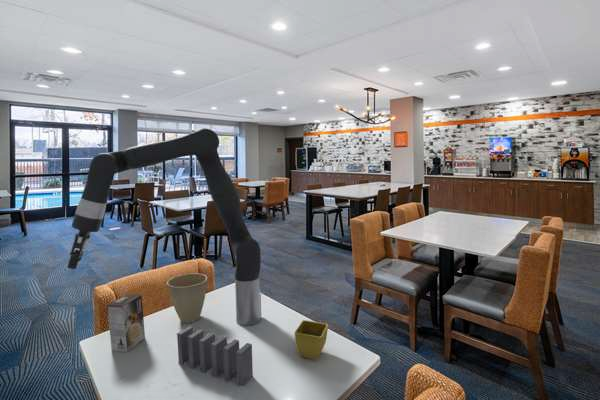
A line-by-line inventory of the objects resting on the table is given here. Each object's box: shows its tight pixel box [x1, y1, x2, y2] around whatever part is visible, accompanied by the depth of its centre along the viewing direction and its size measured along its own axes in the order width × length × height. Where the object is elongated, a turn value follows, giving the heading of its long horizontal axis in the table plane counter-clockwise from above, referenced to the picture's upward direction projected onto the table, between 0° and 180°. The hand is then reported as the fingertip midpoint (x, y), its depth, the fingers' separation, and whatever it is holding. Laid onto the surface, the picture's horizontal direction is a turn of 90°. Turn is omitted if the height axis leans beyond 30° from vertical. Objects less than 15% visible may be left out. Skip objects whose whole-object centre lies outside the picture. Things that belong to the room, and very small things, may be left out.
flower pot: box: [294, 319, 329, 361], centre depth 107 cm, size 9×9×9 cm
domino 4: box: [211, 335, 228, 379], centre depth 98 cm, size 5×2×10 cm, turn 153°
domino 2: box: [188, 328, 205, 370], centre depth 102 cm, size 5×2×10 cm, turn 153°
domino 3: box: [199, 332, 216, 374], centre depth 100 cm, size 5×2×10 cm, turn 153°
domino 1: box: [176, 325, 194, 366], centre depth 104 cm, size 5×2×10 cm, turn 153°
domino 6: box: [236, 342, 254, 387], centre depth 94 cm, size 5×2×10 cm, turn 153°
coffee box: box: [106, 293, 146, 353], centre depth 113 cm, size 9×6×16 cm
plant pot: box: [166, 273, 208, 323], centre depth 132 cm, size 15×15×16 cm
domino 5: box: [223, 338, 240, 383], centre depth 96 cm, size 5×2×10 cm, turn 153°
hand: (74, 264), depth 104 cm, fingers open, 8 cm apart
